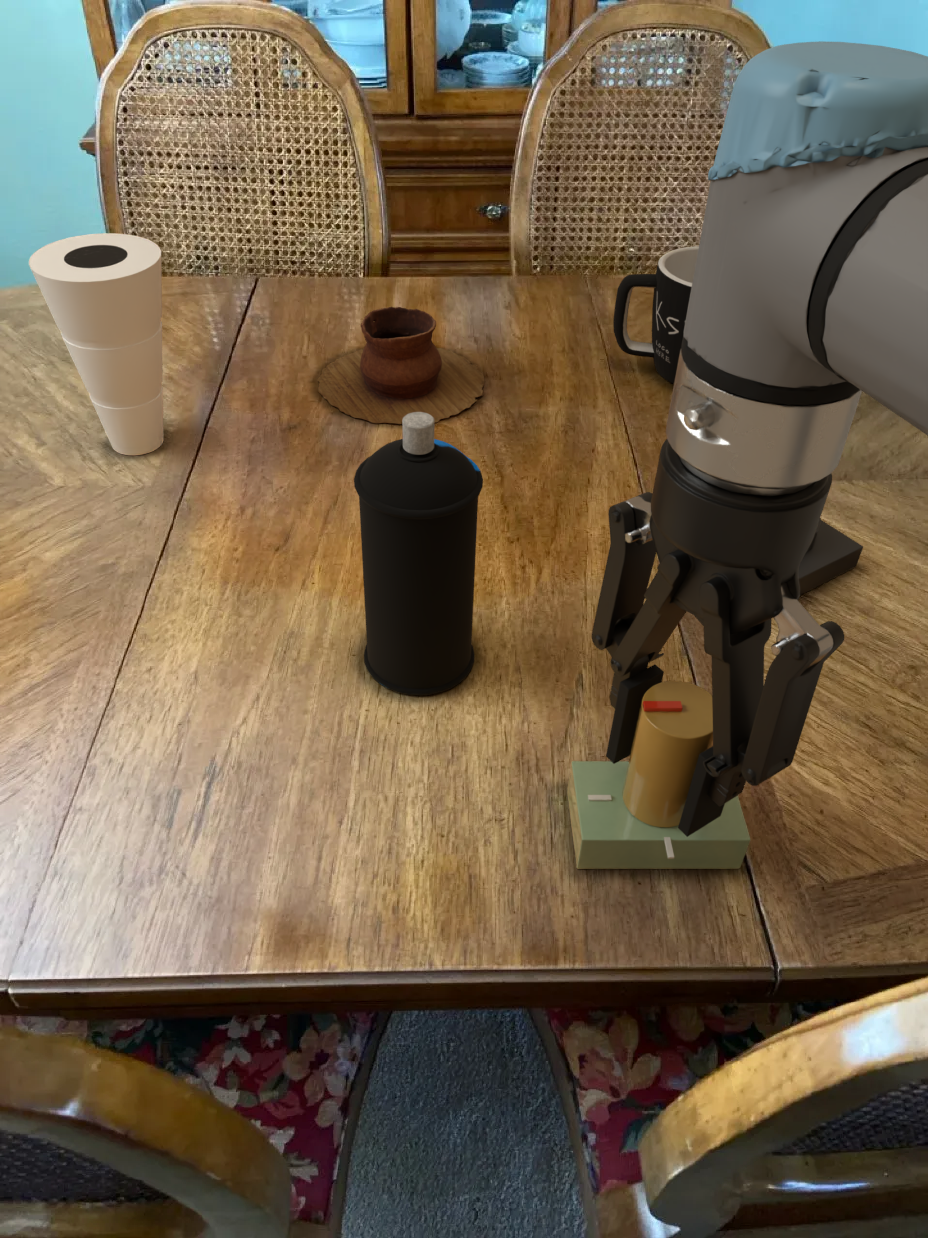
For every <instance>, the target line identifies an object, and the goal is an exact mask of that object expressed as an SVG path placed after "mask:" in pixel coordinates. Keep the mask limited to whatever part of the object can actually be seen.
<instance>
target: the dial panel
mask: <svg viewBox="0 0 928 1238" xmlns="http://www.w3.org/2000/svg"><path fill="white" fill-rule="evenodd" d="M628 763H629V760H620V761H619V762H617V763H615V764H613V763H612V762H611V761H610V760H572V761H571V763H570V768H569V769H570V770H569V776H568V783H567V788H566V794H567V800H568V801H567V802H568V810H569V816H570V825H571V833H572V841H573V849H574V857H575V865H576V869H577V870H740V869H741V867H742V864H743V861H744V859H745V857H746V853H747V851H748V848H749V846H750V843H751V840H752V839H751V836H750V833H749V829H748V826H747V822H746V819H745V816H744V812H743V809H742V805H741V802H740V798H739V795H738V796H736V797H734V798H733V799H731V800H730V801H728V802H726V803H725V805H724V808H723V811H722V814H721V816H720V817H718V818H717V819H715V820H713V821H712V822H710V823H709V824H707V825H705V826H704V827H702V828H701V829H699V830H697V831H696V832H694V833H693V834H691V835H689V836H688V837H687V836H686V835H685V834H684V833H683V832H682V831H681V830H680V829H679V828H678V826H679V825H677V826H674V827H666V828H663V827H655V826H651V825H648V824H646V823H644V822H642V821H640V820H638V819H637V818H636V817H634V816H633V815H632V814H631V813H630V811H629V810H628V809H627V807H626V806H625V803H624V801H623V796H622V791H623V786H624V781H625V776H626V772H627V767H628Z"/></svg>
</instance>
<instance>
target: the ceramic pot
mask: <svg viewBox="0 0 928 1238" xmlns="http://www.w3.org/2000/svg"><path fill="white" fill-rule="evenodd" d="M436 326H437V321H436V319H434V317H433V316H432V315H431V314H430V313H428V312H426V311H425V310H420V309H419V308H414V309H412V308H406V307H401V306H397V307H395V306H388V307H382V308H378V309H373V310H371V311H370V312H369V313H368V314H366V315H365V316H364V317H363V319H362V322H361V323H360V329H361V332H362V334H363V337H364V339H365V342H366V343H365V345H364V347H363V348H360V349H356V350H354V351H353V352H351V353H348V354H345V355H342V356H341V357H339V358H336V359H335V360H334V361H331V362H329V364H327V365H325V368H322V370H321V371H322V372H321V374H320V376H319V377H318V378H317V379H316V380H317V381H318V382H319V385H318V389H317V391H318V392H319V394H320V395H321V396H322V397H323V399H325V400H326V401H327V402H328V403H329V405H330V406H333V407H336V408H337V409H338V411H339V412H341V413H344V414H345V415H348V416H351V417H352V418H353V419H362V420H365V421H368V422H369V423H373V424H383V423H388V424H395V425H402V420H403V417H404V416H406V415H407V414H409V413H412V412H424V413H427V414H430V415H431V416H432V417H433V418H434V424H435V423H438V422H439V421H440V420H442V419H449V418H450V416H455V415H458V414H459V413H461V412H463V411H464V410H465V409H469V408H471V407H472V405H473V404H474V403H475V402H477V401H478V399H476V398H478V397H482V394H483V392H484V389H483V387H484V386H485V383H486V381H485V376H484V374H482V372H481V371H480V370H479V369H478V366H477V364H471V360H469V359H467V358H466V357H465V356H463V355H460V354H459V353H456V352H454V350H453V351H452V350H450V349H446V348H443V347H437V346H436V345H435V343H434V342H433V340H432V339H433V333H434V331H435V330H436Z"/></svg>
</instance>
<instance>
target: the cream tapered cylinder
mask: <svg viewBox="0 0 928 1238" xmlns="http://www.w3.org/2000/svg"><path fill="white" fill-rule="evenodd" d="M28 267H29V268H30V270H31V273H32V275H33V277H34V279H35V282H36V284H37V285H38V288H39V291H40V293H41V295H42V297H43V299H44V301H45V303H46V305H47V307H48V310H49V312H50V314H51V316H52V318H53V321H54V324H55V325H56V328H57V329H58V330H59V331H60V335H61V338H62V340H63V342H64V344H65V346H66V349H67V351H68V353H69V355H70V357H71V359H72V362H73V364H74V366H75V369H76V371H77V373H78V374H79V377H80V379H81V381H82V383H83V386H84V388H85V390H86V392H87V393H88V395H89V399H90V401H91V404H92V406H93V408H94V410H95V412H96V414H97V417H98V419H99V421H100V423H101V425H102V428H103V430H104V432H105V434H106V437H107V439H108V441H109V444H110V445H111V448H112V449H113V450H114V451H115V452H116V453H118V454H121V455H123V456H124V455H125V456H142V455H145V454H148V453H151V452H154V451H156V450H158V449H159V448H160V447H161V446H163V442H164V387H163V385H162V383H163V322H162V317H163V287H162V285H163V283H162V282H163V281H162V279H163V278H162V277H163V275H162V250H161V247H160V246H159V245H158V244H157V243H155V242H154V241H152V240H150V239H147V238H146V237H141V236H139V235H134V234H128V233H127V234H126V233H117V232H116V233H114V232H113V233H111V232H108V233H106V232H105V233H104V232H103V233H101V232H100V233H88V234H83V235H82V234H81V235H75V236H69V237H66V238H62V239H59V240H55V241H52V242H50V243H47V244H45V245H44V246H42V247H40V248H39V249H37V250H35V251H34V252H33V253H32V254H31V255H30V257H29V259H28Z"/></svg>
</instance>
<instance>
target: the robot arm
mask: <svg viewBox="0 0 928 1238" xmlns="http://www.w3.org/2000/svg"><path fill="white" fill-rule="evenodd" d="M730 95H731V96H730V99H729V103H728V106H727V111H726V115H725V119H724V122H723V127H722V131H721V134H720V138H719V142H718V145H717V150H716V153H715V158H714V161H713V165H712V166H711V167H710V168H709V170H708V173H707V180H708V181H709V188H708V194H707V198H706V199H707V200H706V206H705V211H704V215H703V222H702V227H701V231H700V238H699V244H698V246H699V249H698V254H697V260H696V266H695V271H694V277H693V282H692V288H691V293H690V299H689V305H688V310H687V316H686V321H685V327H684V335H683V340H682V346H681V350H680V355H679V361H678V366H677V371H676V377H675V382H674V384H673V387H672V388H673V389H672V393H671V398H670V404H669V409H668V415H667V420H666V427H665V436H666V439H664V442H663V443H662V445H661V448H660V451H659V455H658V456H659V457H658V462H657V466H656V467H657V468H656V472H655V478H654V483H653V489H652V492H651V491H646V492H643V493H641V494H637V495H636V496H634V497H631V498H628V499H625V500H624V501H621V502H618V503H616V504H614V505H611V506H610V507H609V508H608V512H607V513H608V526H609V541H610V544H609V549H608V554H607V558H606V562H605V563H606V564H605V569H604V573H603V578H602V582H601V588H600V593H599V597H598V602H597V607H596V612H595V617H594V620H593V626H592V630H591V639H592V640H591V641H592V644H593V645H594V646H595V648H596V649H598V650H600V651H603V650H606V651H607V653H608V654H609V655H610V667H611V670H612V671H613V676H612V682H611V687H610V692H609V703H610V706H611V707H612V708H613V710H614V712H613V718H612V723H611V727H610V733H609V738H608V743H607V749H606V754H605V757H606V758H607V759H608V761H611V762H612V763H613V764H615V763H617V762H619V761H623V760H624V759H626V758H628V757H630V753H631V749H632V744H633V740H634V735H635V730H636V726H637V721H638V717H639V712H640V707H641V703H642V699H643V696H644V694H645V693H646V692H647V691H648V690H649V689H650V688H651V687H652V686H654V685H656V684H658V683H661V682H663V678H664V674H665V671H664V670H663V669H661V668H660V666H658V665H657V664H656V663H655V664H653V665H651V666H649V664H650V663H651V662H653V661H656V660H658V659H660V658H661V657H663V656H665V653H664V652H662V650H663V648H664V646H665V645H666V643H667V642H668V640H669V638H671V635H672V634H673V633H674V631H675V630H676V628H677V626H678V625H679V624H680V622H681V621H682V619H683V618H684V616H685V614H686V613H689V614H691V615H692V616H694V617H695V618H696V620H697V621H698V622H699V623H700V624H701V626H703V650H704V652H705V654H707V655H709V656H710V657H711V695H712V710H713V746H712V747H711V748H709V749H707V750H706V751H704V752H702V753H700V754H699V757H698V761H697V764H696V768H695V771H694V774H693V778H692V781H691V785H690V788H689V792H688V795H687V799H686V802H685V805H684V809H683V812H682V816H681V819H680V823H679V826H678V828H679V829H680V830H681V831H682V832H683V833H684V834H685V835H686V836H687V837H688V836H689V835H691V834H693V833H694V832H696V831H697V830H699V829H701V828H702V827H704V826H705V825H707V824H709V823H710V822H712V821H713V820H715V819H717V818H718V817H720V816H721V814H722V811H723V808H724V805H725V803H726V802H728V801H730V800H731V799H733V798H734V797H736V796H738V797H739V795H740V794H742V793H743V791H744V789H745V785H746V783H747V784H749V785H750V786H753V787H757V786H759V785H761V784H762V783H763V782H766V781H767V780H769V779H770V778H772V777H774V776H775V775H777V774H779V773H780V772H783V770H785V769H787V768H788V767H790V766H791V765H792V763H793V761H794V758H795V755H796V751H797V749H798V745H799V743H800V739H801V735H802V732H803V729H804V726H805V723H806V721H807V717H808V715H809V710H810V709H811V708H810V707H811V705H812V701H813V698H814V695H815V692H816V688H817V685H818V682H819V680H820V676H821V672H822V670H823V666H824V664H825V662H826V661H827V660H828V659H829V658H830V657H831V656H832V655H833V654H834V653H835V652H836V651H837V649H839V647H841V646H842V644H844V641H845V632H844V630H843V628H842V627H841V626H840V625H839V624H838V623H837V622H835V621H832V620H827V621H825V622H824V623H821V624H819V623H818V622H817V620H816V619H814V617H813V616H812V615H811V614H810V612H809V611H808V610H807V609H806V607H805V606H804V605H802V603H801V602H800V601H799V599H800V596H801V595H800V584H799V577H798V570H799V565H800V563H801V561H802V559H803V557H804V555H805V553H806V552H807V550H808V548H809V546H810V544H811V542H812V540H813V538H814V535H815V532H816V529H817V526H818V523H819V520H820V519H821V518H822V517H821V516H822V513H823V511H824V507H825V505H826V501H827V498H828V496H829V493H830V490H831V487H832V483H833V474H832V473H833V472H834V471H835V470H836V469H837V467H838V466H839V464H840V462H841V457H842V455H843V451H844V449H845V446H846V442H847V440H848V436H849V433H850V431H851V427H852V424H853V421H854V419H855V415H856V411H857V409H858V405H859V402H860V399H861V397H862V394H863V393H865V394H866V395H867V396H869V397H870V398H872V399H873V400H875V401H876V402H878V403H879V404H880V405H882V406H883V407H885V408H887V409H888V410H889V411H890V412H892V413H894V414H895V415H897V416H898V417H900V418H901V419H903V420H904V421H905V422H906V423H908V424H910V425H911V426H913V427H914V428H915V429H918V430H919V431H920V432H922V433H923V434H924V435H926V436H927V437H928V56H927V55H924V54H921V53H919V52H914V51H912V50H911V51H910V50H906V49H901V48H896V47H890V46H885V45H877V44H869V43H857V42H847V41H846V42H845V41H823V40H822V41H806V42H805V41H804V42H792V43H784V44H780V45H779V44H778V45H776V46H773V47H770V48H767V49H764V50H762V51H761V52H759V53H757V54H755V55H754V56H753V57H751V58H750V59H749V60H748V61H747V62H746V63H745V64H744V65H743V67H742V69H741V71H740V72H739V73H738V75H737V76H736V80H735V82H734V84H733V87H732V91H731V94H730ZM656 556H657V559H658V565H657V567H656V568H657V571H656V573H655V575H654V576H653V578H652V579H651V575H652V571H653V567H654V562H655V559H656ZM650 579H651V581H650ZM772 619H773V620H774V622H775V623H776V626H777V628H778V630H777V631H778V632H777V635H776V639H775V643H773V644H772V645H771V647H770V650H771V653H772V655H774V656H775V657H774V659H773V660H772V661H771V663H770V665H769V667H768V669H767V673H766V675H765V646H766V644H767V642H768V641H769V640H770V639H771V636H772ZM661 652H662V653H661Z"/></svg>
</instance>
